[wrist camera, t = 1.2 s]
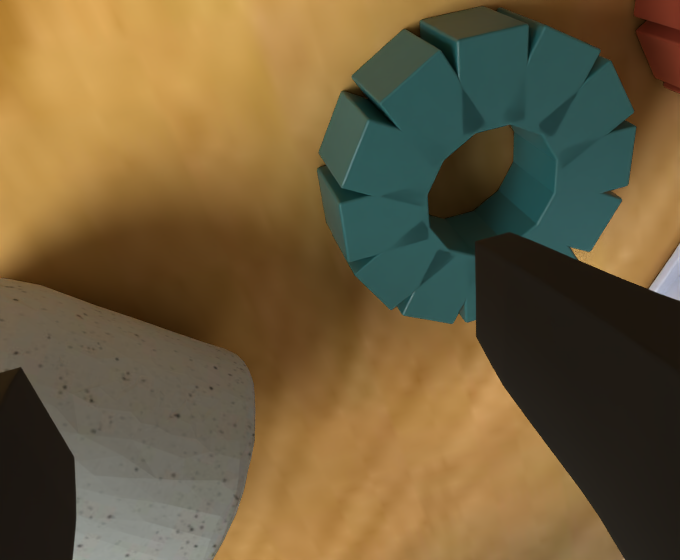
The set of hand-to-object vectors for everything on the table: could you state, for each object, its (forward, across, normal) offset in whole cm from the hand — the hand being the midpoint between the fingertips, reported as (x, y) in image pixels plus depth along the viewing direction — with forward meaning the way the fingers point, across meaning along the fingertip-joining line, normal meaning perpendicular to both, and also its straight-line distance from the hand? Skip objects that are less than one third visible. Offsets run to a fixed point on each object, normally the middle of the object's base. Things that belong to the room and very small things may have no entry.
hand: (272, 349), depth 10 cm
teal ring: (+10, -7, +3) cm, 12 cm away
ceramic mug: (+10, +7, +7) cm, 14 cm away
